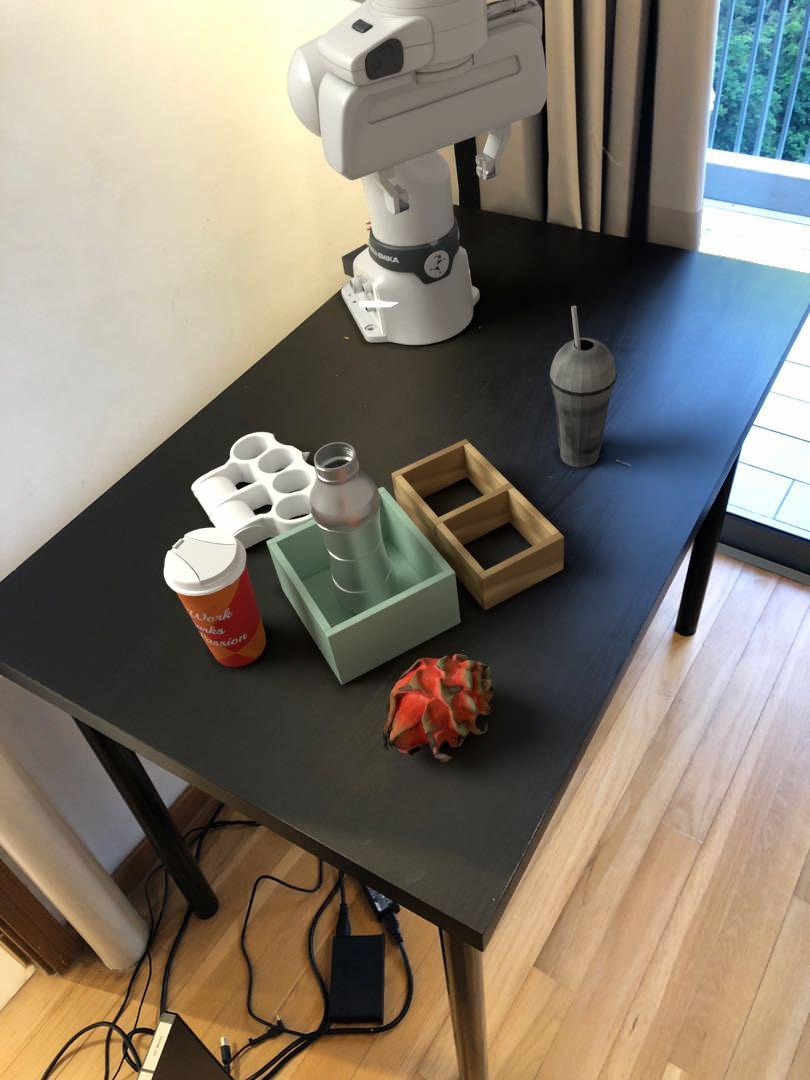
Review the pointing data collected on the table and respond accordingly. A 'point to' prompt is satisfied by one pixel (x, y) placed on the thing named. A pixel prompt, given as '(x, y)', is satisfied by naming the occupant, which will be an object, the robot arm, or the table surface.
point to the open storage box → (385, 627)
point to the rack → (479, 522)
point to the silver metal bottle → (351, 529)
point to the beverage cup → (581, 396)
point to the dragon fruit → (437, 704)
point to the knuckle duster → (258, 489)
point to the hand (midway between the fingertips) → (443, 192)
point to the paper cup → (217, 594)
